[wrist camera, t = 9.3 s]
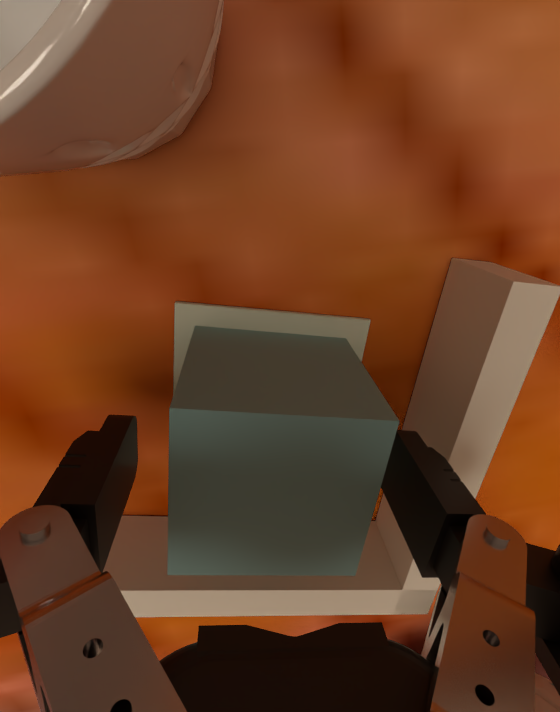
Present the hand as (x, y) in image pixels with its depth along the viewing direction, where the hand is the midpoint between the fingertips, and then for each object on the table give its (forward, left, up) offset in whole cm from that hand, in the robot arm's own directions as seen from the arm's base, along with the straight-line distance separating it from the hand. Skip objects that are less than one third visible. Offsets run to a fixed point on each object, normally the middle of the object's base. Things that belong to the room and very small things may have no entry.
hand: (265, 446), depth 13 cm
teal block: (0, 0, -3) cm, 3 cm away
